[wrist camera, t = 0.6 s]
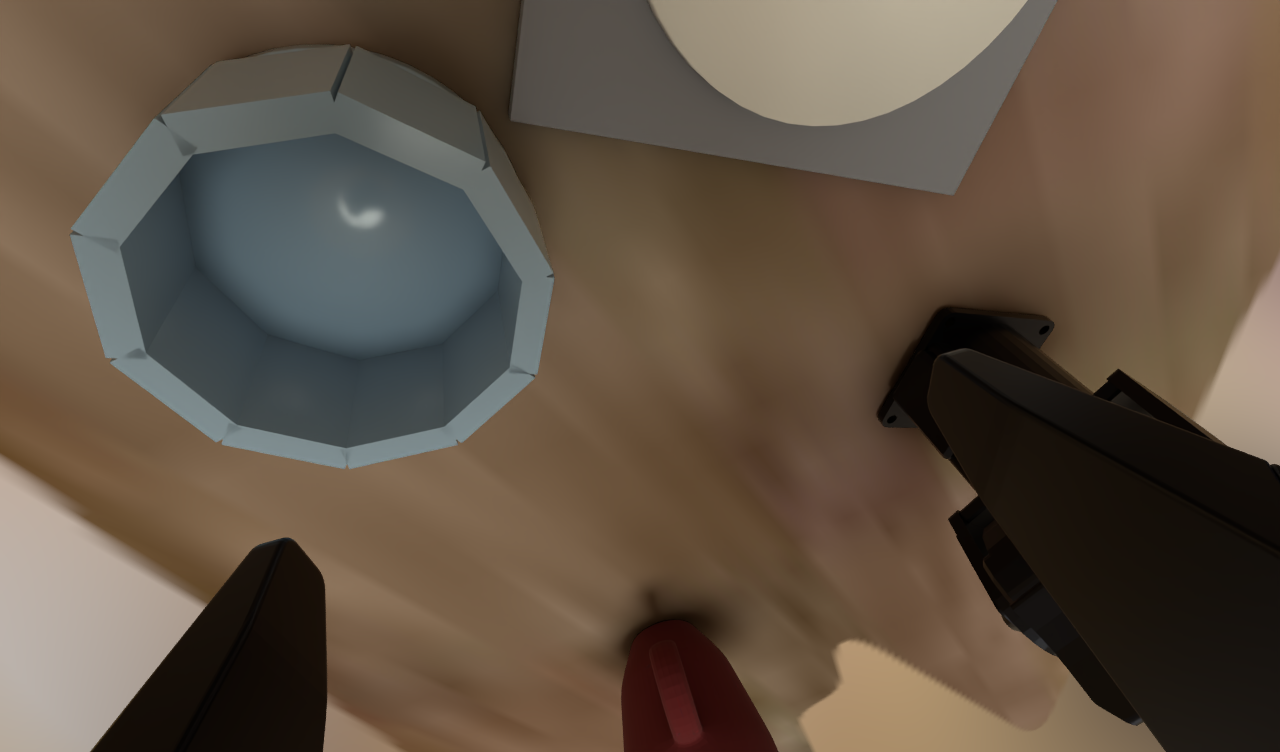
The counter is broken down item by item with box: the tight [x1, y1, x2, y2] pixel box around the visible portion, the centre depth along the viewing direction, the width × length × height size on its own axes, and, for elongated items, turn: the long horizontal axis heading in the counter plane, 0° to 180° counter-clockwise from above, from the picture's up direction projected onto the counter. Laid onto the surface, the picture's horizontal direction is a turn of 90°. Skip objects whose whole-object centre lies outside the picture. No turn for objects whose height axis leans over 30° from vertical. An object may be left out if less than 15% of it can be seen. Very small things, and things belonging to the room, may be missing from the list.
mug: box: [621, 620, 778, 752], centre depth 35 cm, size 10×8×10 cm
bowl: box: [70, 44, 554, 469], centre depth 18 cm, size 10×10×5 cm
